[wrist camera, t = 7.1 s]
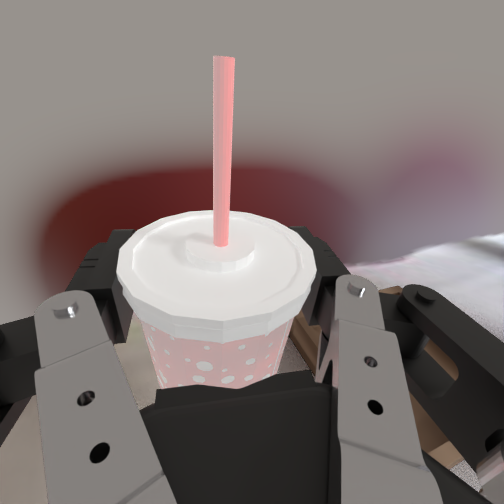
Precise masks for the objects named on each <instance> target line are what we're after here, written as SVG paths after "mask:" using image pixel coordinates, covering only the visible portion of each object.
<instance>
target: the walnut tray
mask: <svg viewBox="0 0 504 504" xmlns="http://www.w3.org/2000/svg"><path fill="white" fill-rule="evenodd" d="M402 290H403V289H402V288H401V287H400V286H395V287H391V288H387V289H382V290H378V292H382V293H388V294H395V295H400V294H401V292H402ZM320 332H321V327H320V325H313V326H309V325H308V323H307V321H306V319H305V317H304V315H303V312H302V310H300V312H299V314H298V315H296V316H295V317H294V319H293V322H292V326H291V329H290V332H289V337H290V338H291V340H292V342H293V343H294V345H295V346H296V348H297V349H298V351H299V352H300V354H301V356H302V357H303V359H304V360H305V362H306V363H307V365H308V366H309V368H310V370H311V371H312V373H313V374H314V376H316V366H317V356H318V345H319V336H320ZM424 350H425V351H426V352H427V353H428V354H429V355H430V356H431V357H432V358H433V359H434V360H435V361H436V362H437V363H438V364H439V365H440V366H441V367H442V368H443V369H444V370H445V371H446V372H447V373H448V374H449V375H450V376H451V377H452V378H453V379H454V380H455V381H456V379H457V378H458V375H459V373H458V368H457V366H456V364H455V363H454V361H453V360H452V359H451V358H450V357H449V356H447V355H446V354H445V353H444V352H443V351H442V350H441V349H440V348H439V347H438V346H437V345H436V344H435V343H434V342H433V341H432V340H431V339H430V340H429V341H428V343H427V345H426V346H425V348H424ZM408 391H409V390H408ZM409 396H410V400H411V405H412V410H413V414H414V419H415V424H416V428H417V433H418V438H419V442H420V447H421V449H422V450H424V451H425V452H426V453H428V454H429V455H430V456H431V457H433V458H434V459H435V460H437V461H438V462H439V463H441V464H442V465H443V466H445V467H446V468H447V469H448V470H449V469H451V468H452V467H454V466H455V465H457V464H459V463H460V462H462V461H463V460H465V459H464V458H463V457H462V456H461V454H460V453H459V452H458V451H457V449H456V448H455V447H454V446H453V444H452V443H451V442H450V441H449V440H448V438H447V437H446V436H445V435H444V433H443V432H442V431H441V430H440V428H439V427H438V426H437V425H436V424H435V422H434V421H433V420H432V419H431V417H430V416H429V415H428V414H427V412H426V411H425V410H424V409H423V408H422V406H421V405H420V404H419V403H418V401H417V400H416V399H415V398H414V396H413V395H412V394H411V393H410V392H409Z"/></svg>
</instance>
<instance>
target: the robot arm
mask: <svg viewBox="0 0 504 504" xmlns="http://www.w3.org/2000/svg"><path fill="white" fill-rule="evenodd" d="M288 228H289V229H291V230H293V231H295V232H297V233H298V234H299V235H300V237H301V238H302V239H303V240H304V241H305V242H306V243H307V244H308V245H309V246H310V247H311V249H312V250H313V255H314V260H315V264H316V269H317V271H316V275H315V278H314V280H313V282H312V284H311V291H310V293H309V295H308V297H307V299H306V300H305V302H304V304H303V306H302V308H301V310H302V312H303V315H304V317H305V319H306V321H307V323H308V325H309V326H313V325H320V327H321V332H320V336H319V345H318V356H317V366H316V376H315V381H314V378H313V376H312V373H311V371H310V370H305V371H297V372H289V373H281V374H275V375H272V376H270V377H268V378H265V379H263V380H260V381H258V382H255V383H253V384H250V385H248V386H246V387H243V388H239V389H233V388H225V387H216V386H208V385H199V384H196V385H188V386H180V387H172V388H165V389H157V390H156V399H155V403H154V404H151V405H149V406H147V407H145V408H143V409H141V410H139V409H138V407H137V404H136V402H135V399H134V397H133V394H132V392H131V389H130V387H129V384H128V382H127V379H126V376H125V374H124V371H123V369H122V366H121V364H120V361H119V359H118V356H117V354H116V351H115V349H114V344H117V343H126V339H127V335H128V331H129V327H130V323H131V319H132V315H133V309H132V308H131V306H130V304H129V303H128V301H127V300H126V298H125V297H124V295H123V287H122V285H121V284H120V282H119V281H118V277H117V273H116V270H117V264H118V257H119V250H120V248H121V247H122V246H123V245H124V244H125V243H126V242H127V241H128V240H129V238H130V237H131V236H132V235H133V234H134V233H135V232H136V231H135V230H134V229H131V230H130V229H129V230H113V231H112V233H111V235H110V237H109V239H108V241H107V243H98V244H97V245H96V246H94V247H93V248H91V249H90V250H89V251H88V252H87V254H86V256H85V257H84V261H82V263H81V264H80V267H79V268H78V270H77V272H76V273H75V275H74V277H73V278H72V280H71V282H70V284H69V285H68V287H67V289H66V290H65V292H63V293H59V294H57V295H54V296H52V297H50V298H48V299H47V300H45V301H44V302H43V303H42V304H40V305H39V307H38V308H37V309H36V311H35V314H34V316H31V317H28V318H24V319H21V320H17V321H13V322H9V323H6V324H2V325H0V447H1V445H2V443H3V442H4V440H5V439H6V437H7V435H8V434H9V432H10V431H11V429H12V428H13V426H14V424H15V423H16V421H17V420H18V418H19V416H20V415H21V413H22V412H23V410H24V408H25V407H26V405H27V404H28V402H29V400H30V399H31V397H32V396H33V395H36V396H37V405H38V414H39V423H40V432H41V441H42V450H43V460H44V469H45V478H46V487H47V496H48V504H504V343H503V342H502V341H501V340H499V339H498V338H497V337H495V336H494V335H493V334H491V333H490V332H489V331H488V330H486V329H485V328H484V327H482V326H481V325H480V324H478V323H477V322H476V321H475V320H473V319H472V318H471V317H469V316H468V315H467V314H465V313H464V312H463V311H461V310H460V309H459V308H458V307H456V306H455V305H454V304H452V303H451V302H450V301H448V300H447V299H446V298H445V297H443V296H442V295H441V294H439V293H438V292H436V291H434V290H432V289H430V288H428V287H425V286H421V285H416V284H411V285H406V286H405V287H404V288H403V290H402V292H401V294H400V295H395V294H388V293H382V292H378V289H377V287H376V286H375V285H374V284H373V283H372V282H370V281H369V280H367V279H365V278H363V277H360V276H357V275H351V274H350V272H349V271H348V270H347V268H346V267H345V266H344V265H343V263H342V262H341V261H340V260H339V258H338V257H336V255H335V253H334V252H333V251H332V250H331V248H330V247H329V246H328V245H327V243H325V242H324V241H322V240H321V239H319V238H318V237H313V235H312V234H311V233H310V231H309V230H308V229H307V228H306V227H305V226H301V227H300V226H296V227H288ZM430 339H431V340H432V341H433V342H434V343H435V344H436V345H437V346H438V347H439V348H440V349H441V350H442V351H443V352H444V353H445V354H446V355H447V356H449V357H450V358H451V359H452V360H453V361H454V363H455V364H456V366H457V368H458V373H459V375H458V378H457V379H456V381H455V380H454V379H453V378H452V377H451V376H450V375H449V374H448V373H447V372H446V371H445V370H444V369H443V368H442V367H441V366H440V365H439V364H438V363H437V362H436V361H435V360H434V359H433V358H432V357H431V356H430V355H429V354H428V353H427V352H426V351H425V350H424V348H425V346H426V345H427V343H428V341H429V340H430ZM408 390H409V391H408ZM409 392H410V393H411V394H412V395H413V396H414V398H415V399H416V400H417V401H418V403H419V404H420V405H421V406H422V408H423V409H424V410H425V411H426V412H427V414H428V415H429V416H430V417H431V419H432V420H433V421H434V422H435V424H436V425H437V426H438V427H439V428H440V430H441V431H442V432H443V433H444V435H445V436H446V437H447V438H448V440H449V441H450V442H451V443H452V444H453V446H454V447H455V448H456V449H457V451H458V452H459V453H460V454H461V456H462V457H463V458H464V459H465V460H466V462H467V463H468V464H469V465H470V467H471V468H472V469H473V470H474V471H475V473H476V474H477V477H478V480H479V482H480V485H481V487H482V489H480V491H479V492H477V491H476V490H475V489H473V488H472V487H471V486H469V485H468V484H467V483H465V482H464V481H463V480H462V479H460V478H459V477H458V476H456V475H455V474H454V473H452V472H451V471H450V470H448V469H447V468H446V467H445V466H443V465H442V464H441V463H439V462H438V461H437V460H435V459H434V458H433V457H431V456H430V455H429V454H428V453H426V452H425V451H424V450H422V449H421V447H420V442H419V438H418V433H417V428H416V424H415V419H414V414H413V410H412V405H411V400H410V396H409Z"/></svg>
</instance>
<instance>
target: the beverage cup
mask: <svg viewBox="0 0 504 504" xmlns="http://www.w3.org/2000/svg"><path fill="white" fill-rule="evenodd" d="M213 60H214V61H213V210H209V211H193V212H187V213H182V214H178V215H174V216H169V217H166V218H161V219H159V220H158V221H155V222H153V223H151V224H149V225H147V226H145V227H143V228H141V229H139V230H138V231H136V232H135V233H134V234H133V235H132V236H131V237H130V238H129V240H128V241H127V242H126V243H125V244H124V245H123V246H122V247H121V248H120V250H119V257H118V264H117V270H116V273H117V277H118V281H119V282H120V284H121V285H122V287H123V295H124V297H125V298H126V300H127V301H128V303H129V304H130V306H131V308H132V309H133V311H134V312H135V314H136V315H137V317H138V318H139V319H140V321H141V324H142V328H143V331H144V334H145V338H146V341H147V344H148V348H149V351H150V355H151V358H152V361H153V365H154V368H155V371H156V375H157V378H158V381H159V385H160V388H161V389H165V388H172V387H180V386H188V385H196V384H199V385H208V386H216V387H225V388H233V389H239V388H243V387H246V386H248V385H250V384H253V383H255V382H258V381H260V380H263V379H265V378H268V377H270V376H272V375H275V374H276V373H277V370H278V367H279V364H280V361H281V357H282V354H283V351H284V348H285V345H286V342H287V338H288V335H289V332H290V329H291V326H292V322H293V319H294V317H295V316H296V315H298V314H299V312H300V310H301V308H302V306H303V304H304V302H305V300H306V299H307V297H308V295H309V293H310V291H311V284H312V282H313V280H314V278H315V275H316V271H317V269H316V264H315V260H314V255H313V250H312V249H311V247H310V246H309V245H308V244H307V243H306V242H305V241H304V240H303V239H302V238H301V237H300V235H299V234H298V233H297V232H295V231H293V230H291V229H289V228H287V227H285V226H284V225H282V224H280V223H278V222H276V221H275V220H271V219H268V218H264V217H261V216H257V215H253V214H250V213H244V212H235V211H229V210H230V180H231V152H232V151H231V150H232V124H233V95H234V94H233V92H234V67H235V58H232V57H226V56H213Z"/></svg>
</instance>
